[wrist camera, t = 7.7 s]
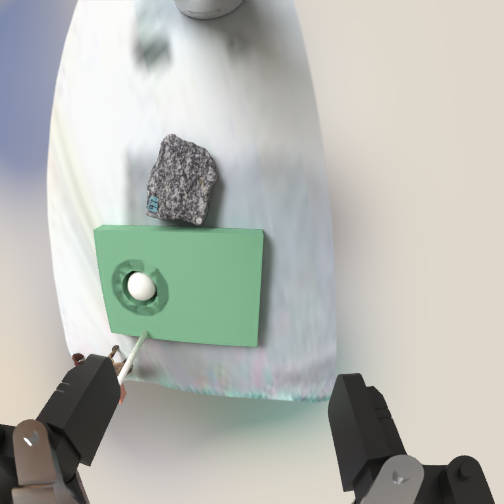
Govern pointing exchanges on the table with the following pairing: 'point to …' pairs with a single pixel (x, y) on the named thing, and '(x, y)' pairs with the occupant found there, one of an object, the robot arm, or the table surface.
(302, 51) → the table surface
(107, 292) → the green
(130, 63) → the table surface
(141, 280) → the ball
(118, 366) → the toy
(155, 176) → the rock
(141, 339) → the pin
